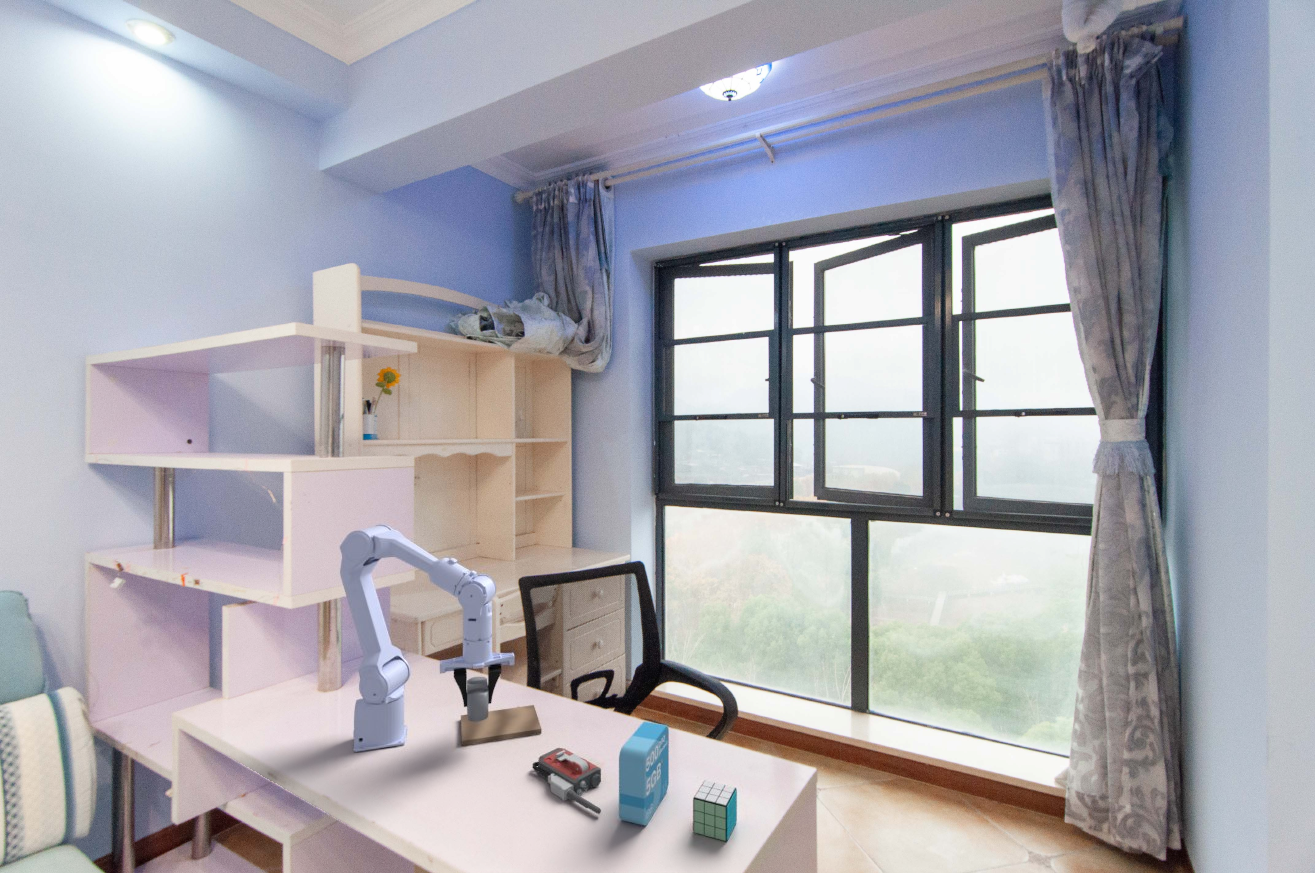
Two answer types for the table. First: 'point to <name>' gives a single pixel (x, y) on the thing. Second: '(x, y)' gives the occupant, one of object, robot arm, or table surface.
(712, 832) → the puzzle toy
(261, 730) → the table surface
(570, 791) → the walkie-talkie
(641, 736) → the data package
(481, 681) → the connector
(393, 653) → the robot arm
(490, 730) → the walnut board
